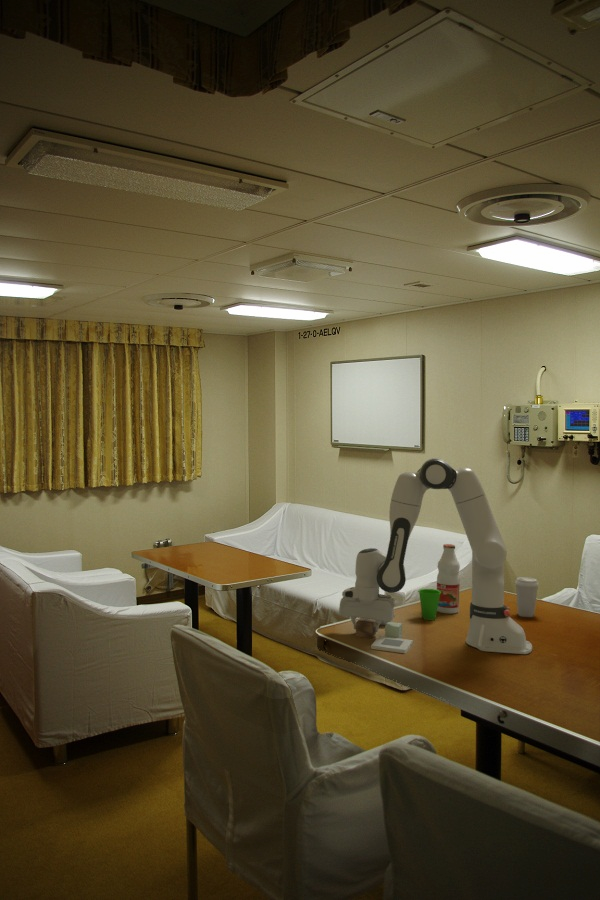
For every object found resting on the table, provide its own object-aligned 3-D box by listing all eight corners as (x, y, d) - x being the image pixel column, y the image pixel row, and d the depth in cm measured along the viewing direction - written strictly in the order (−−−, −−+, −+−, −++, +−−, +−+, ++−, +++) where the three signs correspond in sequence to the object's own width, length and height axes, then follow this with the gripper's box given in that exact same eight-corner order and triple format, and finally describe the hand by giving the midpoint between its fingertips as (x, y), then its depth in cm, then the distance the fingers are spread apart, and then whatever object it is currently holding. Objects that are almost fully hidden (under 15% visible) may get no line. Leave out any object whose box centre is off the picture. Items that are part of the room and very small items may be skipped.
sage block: (401, 636, 246) (402, 623, 246) (398, 640, 241) (398, 626, 241) (388, 635, 247) (388, 621, 247) (384, 638, 243) (385, 625, 243)
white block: (380, 629, 256) (396, 609, 256) (364, 615, 260) (379, 595, 261) (386, 632, 263) (401, 612, 263) (370, 618, 267) (385, 599, 268)
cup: (423, 614, 278) (424, 587, 278) (444, 618, 272) (444, 591, 272) (413, 618, 270) (414, 591, 270) (434, 622, 265) (435, 595, 265)
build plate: (412, 643, 238) (413, 639, 238) (405, 653, 226) (405, 649, 226) (379, 639, 242) (379, 635, 242) (371, 648, 231) (371, 644, 231)
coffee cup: (511, 611, 285) (513, 576, 285) (535, 612, 284) (536, 577, 284) (516, 617, 276) (517, 581, 275) (540, 618, 274) (541, 582, 274)
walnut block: (376, 633, 249) (376, 620, 249) (371, 638, 243) (372, 624, 243) (360, 631, 251) (360, 618, 251) (355, 636, 245) (356, 622, 245)
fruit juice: (463, 611, 284) (465, 545, 283) (451, 615, 277) (452, 547, 276) (443, 607, 290) (445, 542, 290) (431, 610, 284) (433, 544, 283)
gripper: (396, 594, 246) (395, 631, 246) (343, 588, 253) (342, 624, 253) (392, 597, 240) (391, 636, 240) (338, 591, 247) (337, 629, 248)
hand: (366, 630), depth 247 cm, fingers closed on walnut block, 6 cm apart
